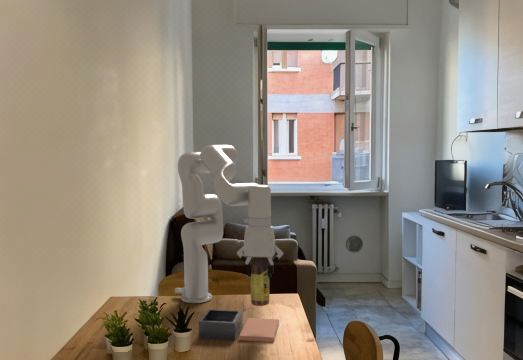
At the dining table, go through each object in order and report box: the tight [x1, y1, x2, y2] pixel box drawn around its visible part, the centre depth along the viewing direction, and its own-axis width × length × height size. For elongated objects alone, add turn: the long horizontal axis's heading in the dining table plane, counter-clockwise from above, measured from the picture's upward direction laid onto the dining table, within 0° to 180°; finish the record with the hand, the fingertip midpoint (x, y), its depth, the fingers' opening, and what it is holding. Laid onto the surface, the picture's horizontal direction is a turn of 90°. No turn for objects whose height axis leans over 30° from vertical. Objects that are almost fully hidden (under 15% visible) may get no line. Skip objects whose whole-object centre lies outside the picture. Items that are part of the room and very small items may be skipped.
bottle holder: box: [198, 308, 243, 341], centre depth 160 cm, size 12×12×6 cm
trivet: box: [239, 317, 280, 343], centre depth 160 cm, size 11×16×2 cm
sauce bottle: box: [250, 257, 270, 307], centre depth 159 cm, size 7×6×20 cm
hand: (260, 275), depth 159 cm, fingers closed on sauce bottle, 6 cm apart
